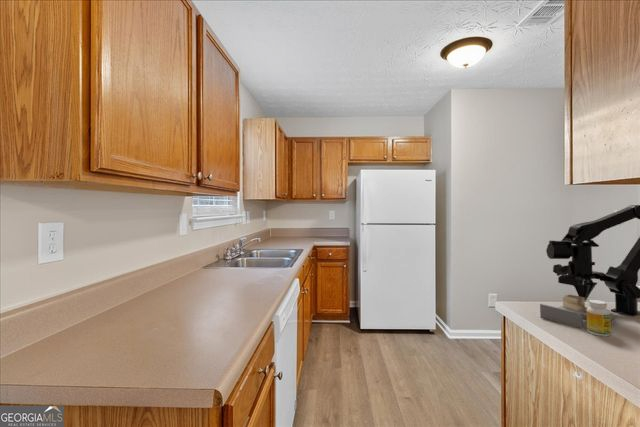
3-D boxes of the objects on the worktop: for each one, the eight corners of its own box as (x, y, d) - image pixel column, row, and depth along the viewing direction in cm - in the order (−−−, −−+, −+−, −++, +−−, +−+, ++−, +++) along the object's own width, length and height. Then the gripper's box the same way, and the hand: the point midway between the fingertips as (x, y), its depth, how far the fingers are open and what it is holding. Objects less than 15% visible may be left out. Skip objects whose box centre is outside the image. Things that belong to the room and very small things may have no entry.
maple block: (570, 305, 116) (570, 294, 116) (584, 308, 112) (584, 297, 112) (563, 307, 114) (562, 296, 114) (577, 310, 110) (576, 299, 110)
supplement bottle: (590, 328, 99) (589, 298, 99) (613, 333, 94) (612, 301, 94) (584, 332, 96) (583, 301, 96) (607, 338, 91) (606, 305, 91)
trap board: (571, 309, 118) (571, 297, 118) (613, 319, 106) (612, 305, 106) (540, 316, 110) (540, 304, 110) (581, 328, 99) (581, 314, 99)
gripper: (572, 254, 126) (573, 293, 126) (542, 258, 119) (543, 299, 119) (606, 257, 116) (607, 300, 116) (575, 262, 109) (577, 307, 109)
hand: (583, 301), depth 115 cm, fingers closed
